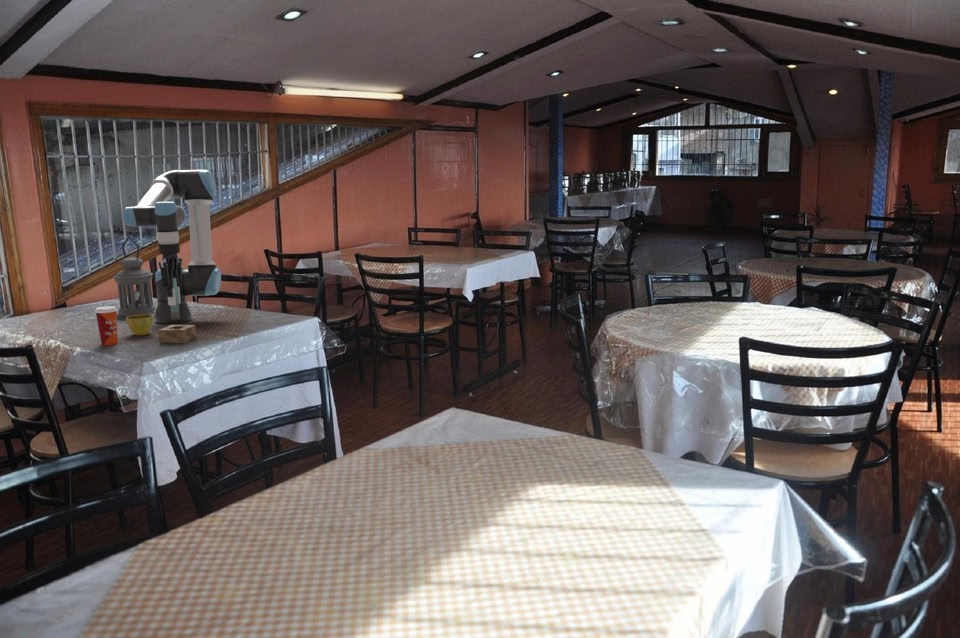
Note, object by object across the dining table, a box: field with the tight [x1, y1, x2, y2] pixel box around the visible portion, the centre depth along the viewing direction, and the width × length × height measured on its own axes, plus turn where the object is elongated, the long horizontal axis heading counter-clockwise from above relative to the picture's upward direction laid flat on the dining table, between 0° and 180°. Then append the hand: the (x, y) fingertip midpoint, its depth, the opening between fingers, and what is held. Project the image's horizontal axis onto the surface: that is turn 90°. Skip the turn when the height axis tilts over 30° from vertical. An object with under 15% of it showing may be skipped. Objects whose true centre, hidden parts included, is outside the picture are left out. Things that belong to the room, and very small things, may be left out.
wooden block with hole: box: [157, 324, 197, 344], centre depth 305 cm, size 10×10×5 cm
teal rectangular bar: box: [170, 278, 180, 320], centre depth 302 cm, size 3×3×16 cm
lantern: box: [113, 236, 157, 317], centre depth 362 cm, size 17×17×35 cm
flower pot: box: [125, 314, 154, 336], centre depth 317 cm, size 10×10×7 cm
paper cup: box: [94, 305, 119, 346], centre depth 300 cm, size 8×8×14 cm
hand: (174, 304), depth 303 cm, fingers closed on teal rectangular bar, 3 cm apart
